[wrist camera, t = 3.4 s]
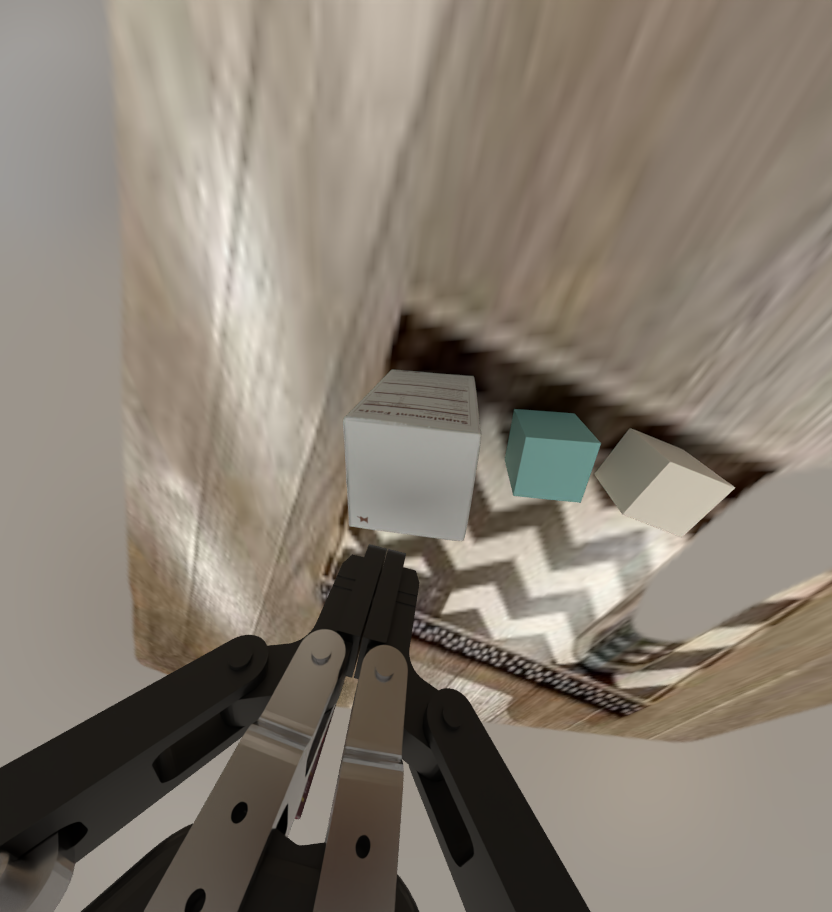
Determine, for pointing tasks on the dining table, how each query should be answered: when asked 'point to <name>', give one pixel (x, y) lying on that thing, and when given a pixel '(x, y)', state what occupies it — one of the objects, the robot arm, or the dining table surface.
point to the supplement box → (413, 455)
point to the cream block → (660, 483)
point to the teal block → (549, 455)
